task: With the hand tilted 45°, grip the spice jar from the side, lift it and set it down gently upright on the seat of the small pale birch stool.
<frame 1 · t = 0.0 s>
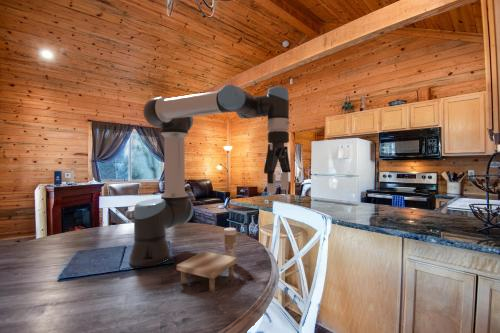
hand: (278, 191, 89), 28 cm above the table, tool pointing down, fingers open, 13 cm apart
stool: (208, 279, 82), on the table
spice jar: (230, 264, 95), on the table
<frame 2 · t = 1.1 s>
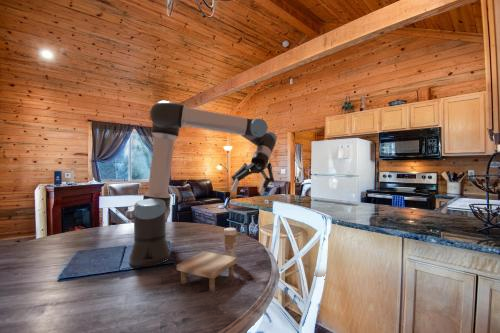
hand: (245, 192, 105), 26 cm above the table, tool tilted 45°, fingers open, 13 cm apart
nothing on the table moved.
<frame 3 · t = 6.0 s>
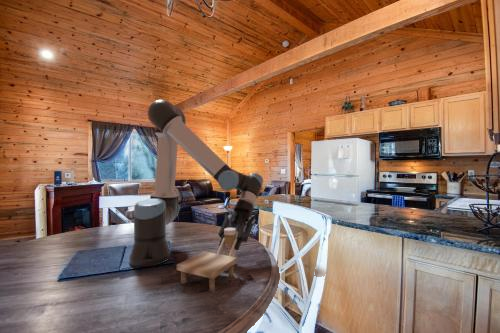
hand: (224, 256, 91), 4 cm above the table, tool tilted 45°, fingers closed on spice jar, 4 cm apart
spice jar: (230, 264, 95), on the table, touching gripper
when the fingers open (12 cm above the table, at t = 11.2 s): spice jar drops 1 cm, resting on stool.
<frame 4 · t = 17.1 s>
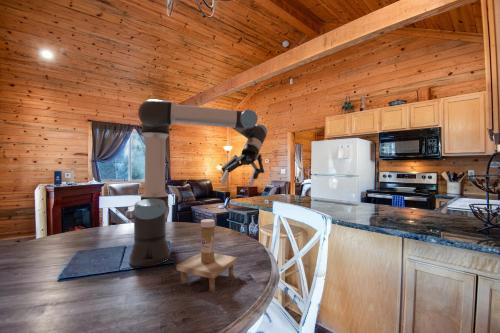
hand: (235, 183, 104), 30 cm above the table, tool tilted 45°, fingers open, 13 cm apart
spice jar: (208, 261, 82), point 6 cm above the table, touching stool
at the end: spice jar inside the target area on the stool (0.1 cm from its centre), point 5.8 cm above the stool's base; spice jar tilted 0°; the gripper is holding nothing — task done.
